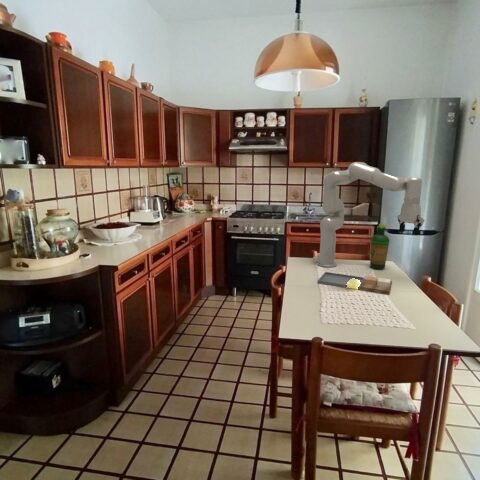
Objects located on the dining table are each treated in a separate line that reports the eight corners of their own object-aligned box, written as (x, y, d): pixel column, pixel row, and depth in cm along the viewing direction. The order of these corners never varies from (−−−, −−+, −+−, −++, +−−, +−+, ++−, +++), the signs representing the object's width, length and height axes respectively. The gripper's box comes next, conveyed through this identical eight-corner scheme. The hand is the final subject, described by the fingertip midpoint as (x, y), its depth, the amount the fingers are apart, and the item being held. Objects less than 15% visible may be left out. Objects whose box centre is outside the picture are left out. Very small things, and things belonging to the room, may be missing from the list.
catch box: (317, 283, 185) (317, 280, 185) (325, 274, 201) (325, 271, 201) (359, 290, 176) (360, 287, 175) (364, 280, 191) (364, 277, 191)
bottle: (367, 269, 213) (371, 224, 207) (369, 264, 222) (373, 222, 216) (385, 271, 208) (390, 226, 202) (387, 267, 217) (391, 223, 211)
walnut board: (359, 290, 176) (360, 286, 175) (364, 280, 191) (364, 276, 191) (389, 295, 169) (389, 291, 169) (391, 284, 185) (391, 280, 185)
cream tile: (376, 285, 177) (377, 280, 177) (377, 282, 182) (378, 277, 182) (389, 287, 174) (389, 282, 174) (390, 283, 180) (390, 279, 179)
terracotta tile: (363, 283, 180) (364, 278, 179) (365, 280, 185) (365, 275, 185) (375, 285, 177) (376, 280, 177) (377, 281, 183) (377, 277, 182)
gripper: (394, 200, 187) (391, 230, 191) (419, 203, 171) (416, 236, 175) (404, 199, 190) (401, 230, 193) (431, 202, 174) (427, 235, 177)
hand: (408, 233), depth 184 cm, fingers open, 9 cm apart
